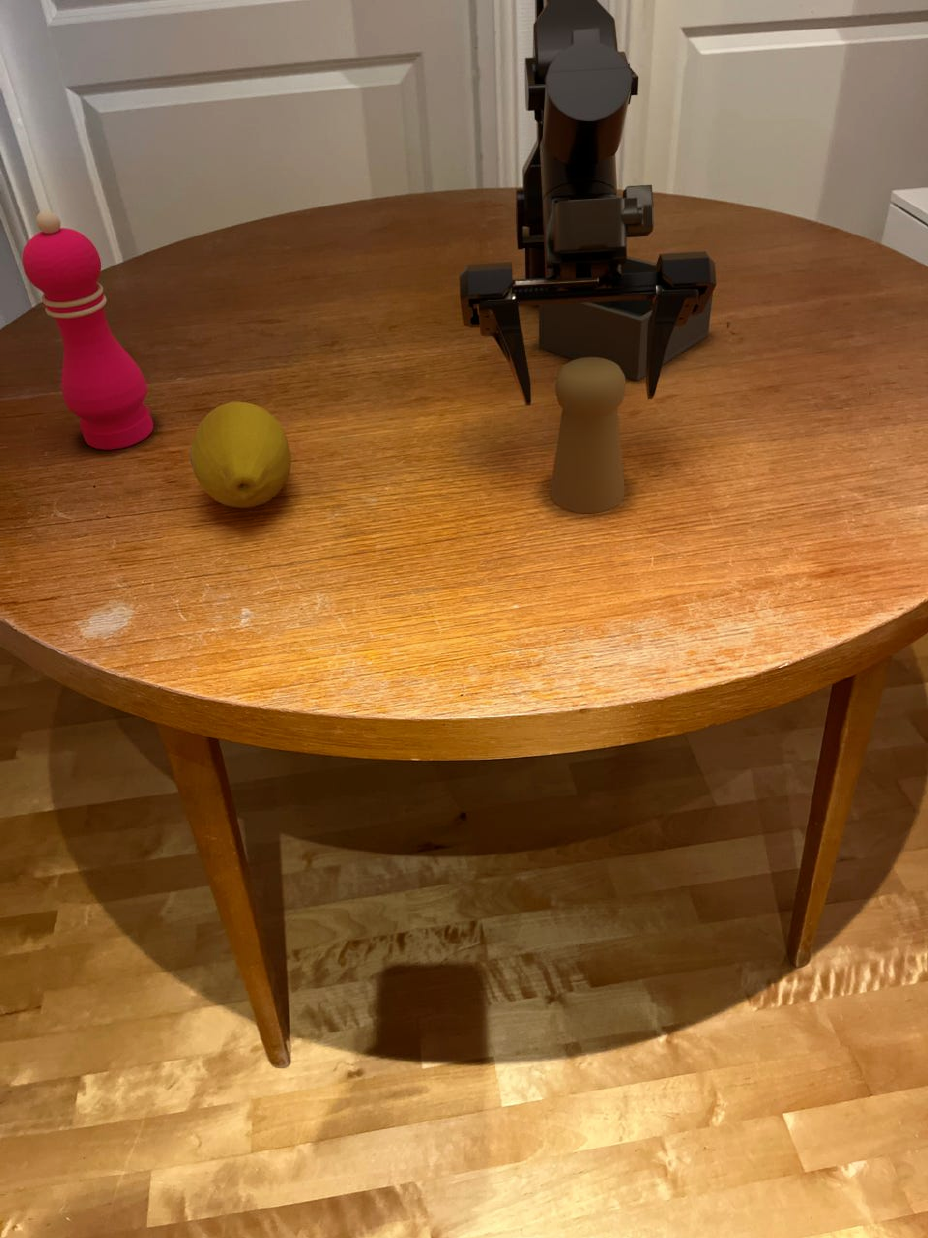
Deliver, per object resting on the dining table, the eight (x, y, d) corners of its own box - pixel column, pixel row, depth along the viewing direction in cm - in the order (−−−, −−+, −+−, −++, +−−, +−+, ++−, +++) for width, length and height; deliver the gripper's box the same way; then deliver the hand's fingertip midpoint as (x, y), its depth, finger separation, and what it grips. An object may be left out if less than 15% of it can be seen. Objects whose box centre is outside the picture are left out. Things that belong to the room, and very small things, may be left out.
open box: (538, 347, 97) (538, 290, 93) (611, 307, 103) (613, 252, 99) (637, 381, 90) (641, 320, 86) (708, 336, 96) (714, 277, 92)
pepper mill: (87, 461, 85) (3, 233, 71) (73, 427, 90) (-9, 208, 76) (167, 438, 87) (99, 213, 74) (149, 406, 92) (82, 190, 79)
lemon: (215, 467, 82) (192, 383, 77) (304, 461, 82) (287, 377, 77) (191, 541, 74) (164, 452, 69) (290, 534, 74) (271, 445, 69)
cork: (631, 476, 77) (640, 350, 70) (616, 518, 73) (623, 388, 66) (560, 467, 79) (561, 343, 72) (540, 507, 75) (539, 379, 68)
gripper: (451, 148, 65) (460, 371, 63) (727, 131, 64) (741, 356, 63) (460, 227, 76) (467, 418, 75) (694, 214, 75) (706, 406, 74)
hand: (589, 400), depth 71 cm, fingers open, 9 cm apart
